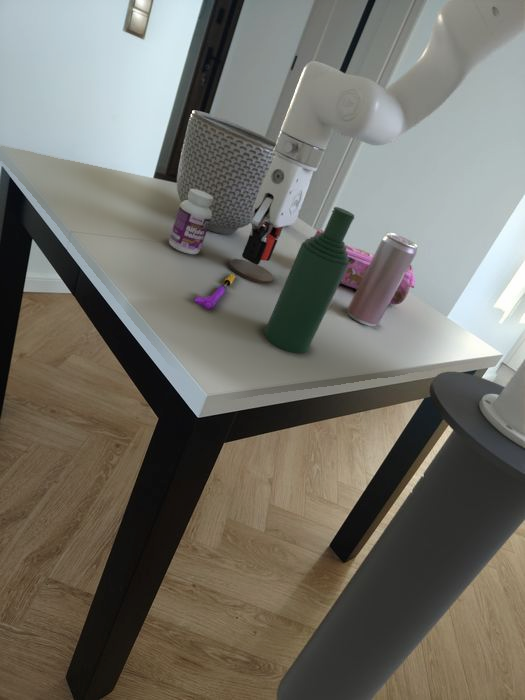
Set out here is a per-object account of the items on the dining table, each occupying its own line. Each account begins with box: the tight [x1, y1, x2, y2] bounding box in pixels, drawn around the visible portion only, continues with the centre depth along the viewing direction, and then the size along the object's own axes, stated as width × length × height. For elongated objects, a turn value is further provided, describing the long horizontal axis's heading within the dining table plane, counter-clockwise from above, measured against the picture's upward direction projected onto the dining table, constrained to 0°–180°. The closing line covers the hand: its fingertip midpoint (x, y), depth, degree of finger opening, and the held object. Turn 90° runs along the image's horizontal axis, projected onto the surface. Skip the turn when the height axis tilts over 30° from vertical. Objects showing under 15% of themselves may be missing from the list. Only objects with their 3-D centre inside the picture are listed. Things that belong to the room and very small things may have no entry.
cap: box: [261, 234, 275, 262], centre depth 85 cm, size 4×4×4 cm
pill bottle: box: [168, 189, 213, 255], centre depth 83 cm, size 5×5×10 cm
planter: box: [176, 109, 276, 235], centre depth 100 cm, size 20×20×19 cm
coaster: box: [229, 258, 275, 285], centre depth 87 cm, size 8×8×1 cm
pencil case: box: [313, 229, 416, 306], centre depth 100 cm, size 21×9×9 cm, turn 89°
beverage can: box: [347, 231, 419, 327], centre depth 86 cm, size 6×6×15 cm
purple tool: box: [193, 274, 236, 310], centre depth 75 cm, size 3×1×16 cm
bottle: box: [263, 206, 355, 354], centre depth 65 cm, size 6×6×18 cm
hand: (255, 257), depth 86 cm, fingers closed on cap, 3 cm apart
